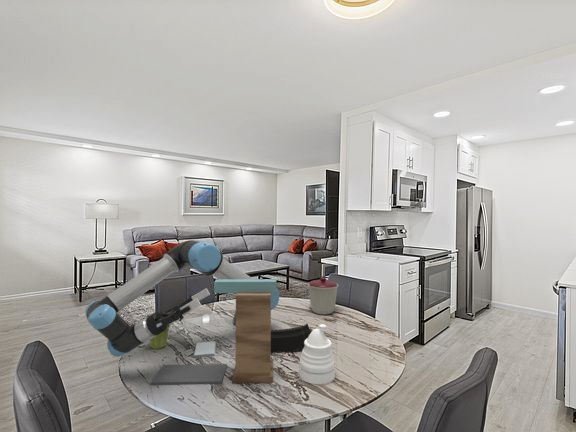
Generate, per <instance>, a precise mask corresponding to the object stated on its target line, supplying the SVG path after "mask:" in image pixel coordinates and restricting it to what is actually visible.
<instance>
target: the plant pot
mask: <svg viewBox="0 0 576 432" xmlns="http://www.w3.org/2000/svg"><path fill="white" fill-rule="evenodd" d="M170 328H171V323H170V324H168V325H167V329H166V330H165V331H164V332H162V333H161V334H159V335H156V336H155V337H154V338H152V339H150V340H149V342H150V348H152V349H153V350H160V349H162V348H165V347H166V346H167V343H168V342H167V341H168V334H169V330H170Z"/></svg>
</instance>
